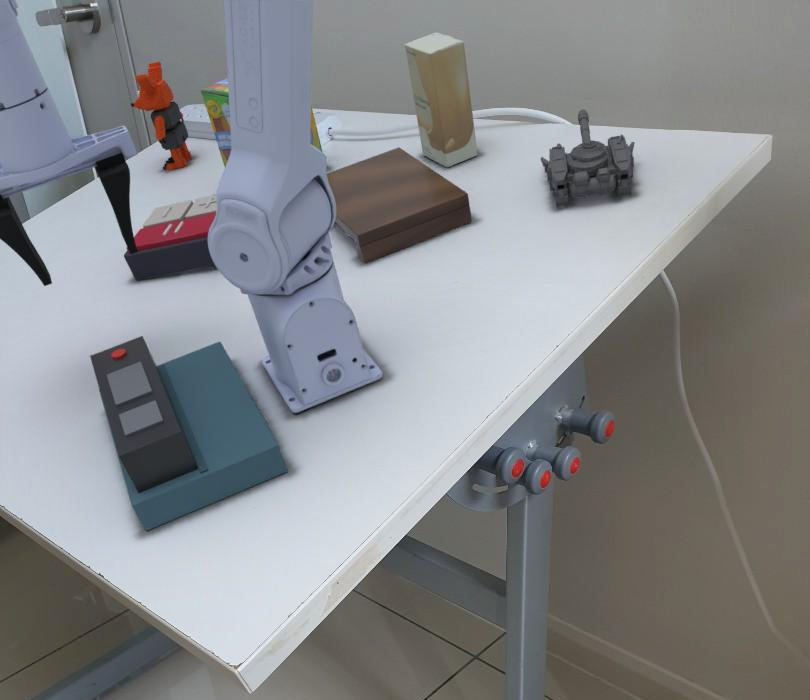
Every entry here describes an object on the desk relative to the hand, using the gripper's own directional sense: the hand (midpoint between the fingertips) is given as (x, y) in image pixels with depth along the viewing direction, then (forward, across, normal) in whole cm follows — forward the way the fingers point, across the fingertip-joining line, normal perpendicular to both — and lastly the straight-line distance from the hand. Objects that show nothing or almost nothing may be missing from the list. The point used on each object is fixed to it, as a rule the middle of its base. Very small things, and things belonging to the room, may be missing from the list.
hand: (90, 265), depth 75 cm
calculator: (+10, -12, -18) cm, 24 cm away
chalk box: (+10, -24, -31) cm, 40 cm away
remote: (+7, +1, +17) cm, 18 cm away
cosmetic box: (+10, -42, -19) cm, 47 cm away
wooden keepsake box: (+9, -30, -10) cm, 33 cm away
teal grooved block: (+9, -2, +17) cm, 20 cm away
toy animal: (+10, -14, -50) cm, 53 cm away
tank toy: (+10, -49, 0) cm, 50 cm away
